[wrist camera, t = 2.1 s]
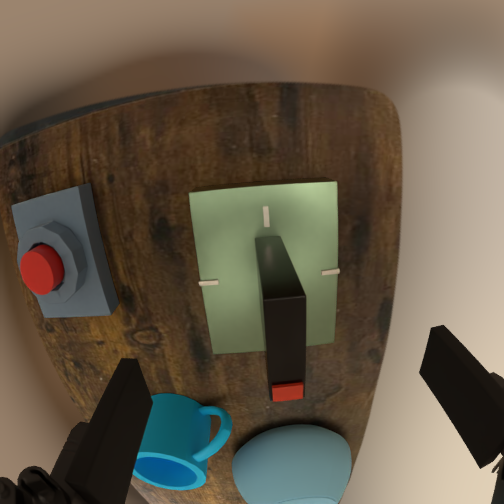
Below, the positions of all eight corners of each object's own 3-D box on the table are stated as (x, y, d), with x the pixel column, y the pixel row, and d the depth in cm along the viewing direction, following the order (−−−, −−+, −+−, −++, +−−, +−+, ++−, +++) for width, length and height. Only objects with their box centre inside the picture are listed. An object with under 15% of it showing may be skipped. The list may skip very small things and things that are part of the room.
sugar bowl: (280, 484, 36) (287, 544, 25) (208, 450, 33) (202, 525, 22) (364, 442, 34) (387, 508, 23) (302, 399, 30) (321, 488, 19)
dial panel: (193, 187, 22) (186, 192, 19) (327, 177, 22) (339, 181, 19) (214, 334, 27) (211, 355, 24) (326, 323, 27) (335, 343, 24)
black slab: (254, 237, 21) (263, 302, 12) (280, 235, 21) (308, 297, 12) (260, 314, 23) (270, 404, 14) (284, 312, 23) (305, 400, 14)
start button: (26, 247, 20) (14, 254, 18) (57, 241, 20) (45, 248, 18) (39, 287, 21) (28, 296, 19) (69, 284, 21) (59, 293, 19)
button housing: (25, 201, 22) (-2, 210, 18) (90, 182, 22) (66, 189, 18) (54, 307, 25) (35, 327, 22) (119, 303, 25) (103, 326, 22)
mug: (174, 442, 32) (165, 493, 24) (128, 405, 30) (108, 458, 22) (253, 414, 30) (256, 473, 22) (207, 369, 28) (199, 433, 20)
